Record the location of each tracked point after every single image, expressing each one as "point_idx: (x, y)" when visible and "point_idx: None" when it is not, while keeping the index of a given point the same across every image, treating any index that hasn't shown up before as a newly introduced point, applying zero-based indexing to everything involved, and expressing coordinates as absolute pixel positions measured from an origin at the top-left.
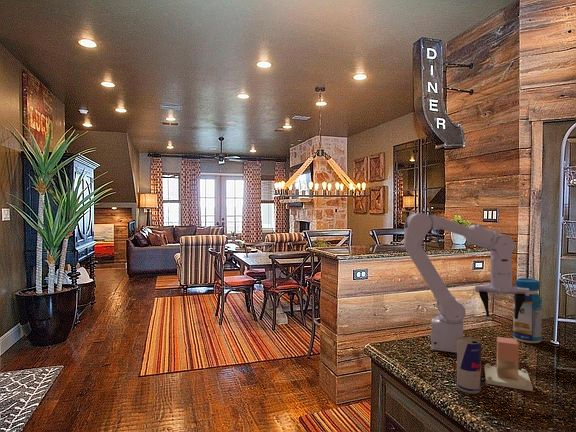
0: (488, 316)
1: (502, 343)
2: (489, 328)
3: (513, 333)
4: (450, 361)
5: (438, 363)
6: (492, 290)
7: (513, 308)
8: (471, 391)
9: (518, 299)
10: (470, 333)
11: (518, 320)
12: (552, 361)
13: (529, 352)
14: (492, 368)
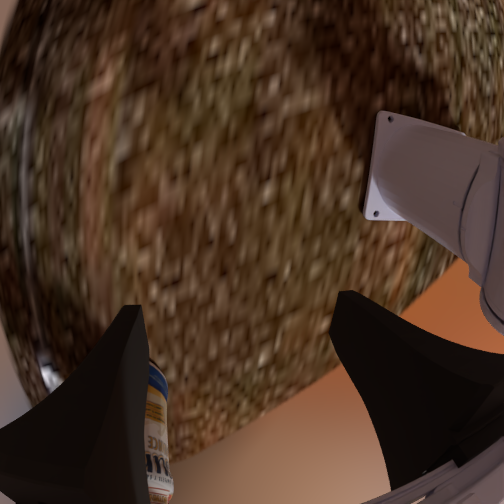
0: (344, 291)
1: None
2: (237, 422)
3: (165, 388)
4: (419, 31)
5: (445, 14)
6: (481, 481)
7: (169, 475)
8: None
9: (60, 449)
10: (307, 362)
11: (145, 424)
12: (30, 175)
13: (104, 248)
14: None
